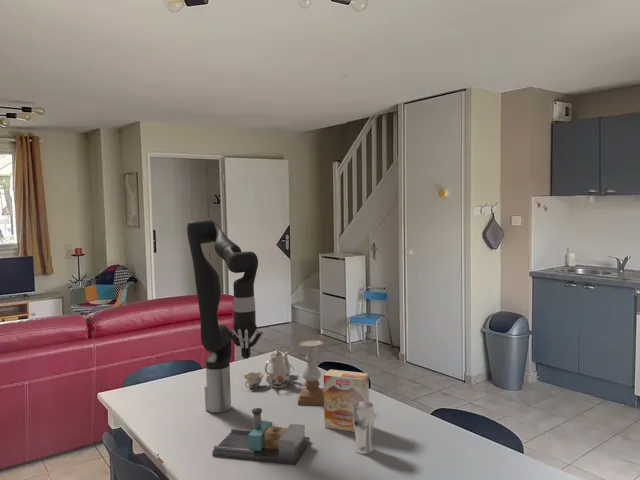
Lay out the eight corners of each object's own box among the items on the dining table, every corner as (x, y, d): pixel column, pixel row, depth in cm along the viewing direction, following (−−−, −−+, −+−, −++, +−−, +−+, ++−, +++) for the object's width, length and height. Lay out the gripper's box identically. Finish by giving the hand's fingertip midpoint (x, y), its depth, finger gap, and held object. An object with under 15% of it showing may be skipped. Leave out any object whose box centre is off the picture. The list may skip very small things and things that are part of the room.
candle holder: (327, 395, 216) (325, 339, 214) (324, 405, 205) (323, 346, 203) (301, 395, 217) (299, 339, 215) (297, 405, 206) (295, 346, 205)
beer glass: (351, 445, 170) (351, 401, 169) (372, 444, 171) (371, 400, 170) (355, 455, 163) (354, 409, 162) (376, 454, 164) (375, 408, 163)
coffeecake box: (324, 428, 184) (322, 374, 183) (330, 420, 191) (329, 368, 190) (364, 433, 179) (363, 379, 178) (369, 425, 185) (368, 372, 184)
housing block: (264, 447, 167) (264, 432, 167) (270, 441, 172) (269, 426, 171) (282, 449, 165) (281, 434, 165) (287, 442, 170) (286, 427, 170)
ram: (247, 449, 165) (245, 416, 164) (259, 434, 176) (258, 403, 175) (260, 451, 164) (259, 417, 163) (272, 436, 175) (271, 404, 174)
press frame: (212, 455, 166) (211, 436, 165) (233, 434, 181) (232, 416, 181) (295, 464, 159) (294, 444, 158) (309, 441, 174) (309, 422, 174)
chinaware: (281, 375, 248) (277, 340, 248) (308, 377, 238) (304, 342, 238) (239, 392, 226) (235, 355, 226) (267, 396, 216) (263, 357, 216)
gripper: (266, 307, 181) (267, 355, 182) (231, 306, 184) (233, 354, 185) (258, 311, 174) (259, 362, 175) (222, 310, 177) (224, 360, 178)
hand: (246, 357), depth 180 cm, fingers closed
